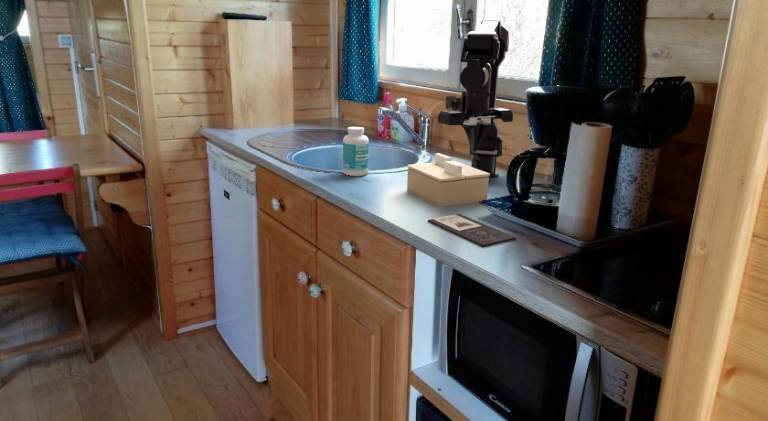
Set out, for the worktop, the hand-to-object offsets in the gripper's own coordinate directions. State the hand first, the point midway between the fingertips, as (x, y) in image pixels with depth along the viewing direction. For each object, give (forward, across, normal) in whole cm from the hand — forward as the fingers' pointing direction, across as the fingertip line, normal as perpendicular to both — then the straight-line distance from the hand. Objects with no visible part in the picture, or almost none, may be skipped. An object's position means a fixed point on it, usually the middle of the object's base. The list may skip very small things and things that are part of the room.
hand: (473, 151), depth 143 cm
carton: (+12, +4, -4) cm, 14 cm away
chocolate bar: (+13, +14, +21) cm, 28 cm away
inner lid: (+6, +1, -5) cm, 7 cm away
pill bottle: (+12, +16, -34) cm, 40 cm away
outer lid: (+6, +8, -5) cm, 11 cm away
